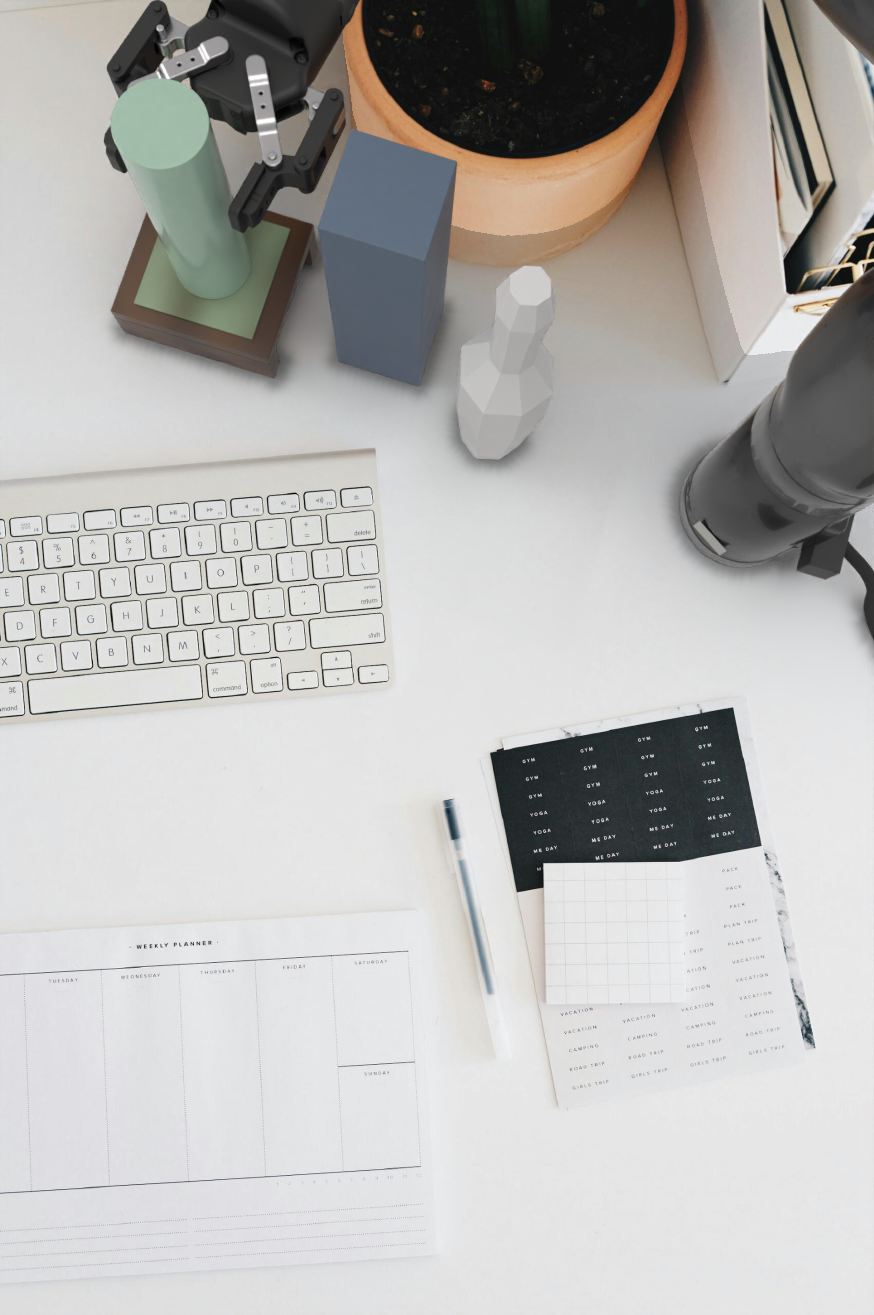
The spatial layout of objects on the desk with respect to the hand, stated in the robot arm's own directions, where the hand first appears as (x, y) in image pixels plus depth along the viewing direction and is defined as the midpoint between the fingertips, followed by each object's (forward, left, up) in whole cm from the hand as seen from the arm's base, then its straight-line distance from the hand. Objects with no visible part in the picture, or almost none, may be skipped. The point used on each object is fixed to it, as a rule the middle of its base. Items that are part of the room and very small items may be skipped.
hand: (174, 193), depth 58 cm
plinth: (-14, -1, -13) cm, 19 cm away
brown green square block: (0, -1, -13) cm, 13 cm away
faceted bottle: (-23, +4, -13) cm, 27 cm away
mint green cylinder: (0, -1, -10) cm, 10 cm away
